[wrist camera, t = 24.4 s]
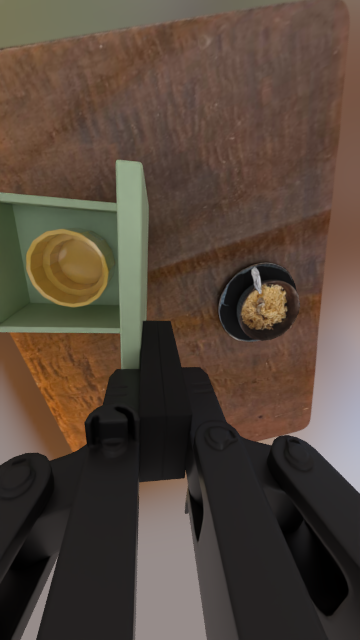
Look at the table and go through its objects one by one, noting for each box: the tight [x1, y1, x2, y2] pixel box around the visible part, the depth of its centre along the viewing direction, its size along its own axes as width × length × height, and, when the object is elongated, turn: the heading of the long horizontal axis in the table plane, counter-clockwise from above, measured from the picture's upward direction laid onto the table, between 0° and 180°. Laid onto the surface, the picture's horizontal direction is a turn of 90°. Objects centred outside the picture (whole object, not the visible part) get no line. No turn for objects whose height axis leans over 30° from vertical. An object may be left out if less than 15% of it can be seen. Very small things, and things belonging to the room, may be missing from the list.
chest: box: [0, 192, 120, 333], centre depth 31 cm, size 19×16×10 cm
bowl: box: [26, 228, 115, 307], centre depth 31 cm, size 9×9×8 cm
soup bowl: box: [218, 263, 300, 342], centre depth 39 cm, size 15×16×7 cm
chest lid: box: [116, 160, 149, 369], centre depth 19 cm, size 19×16×1 cm
